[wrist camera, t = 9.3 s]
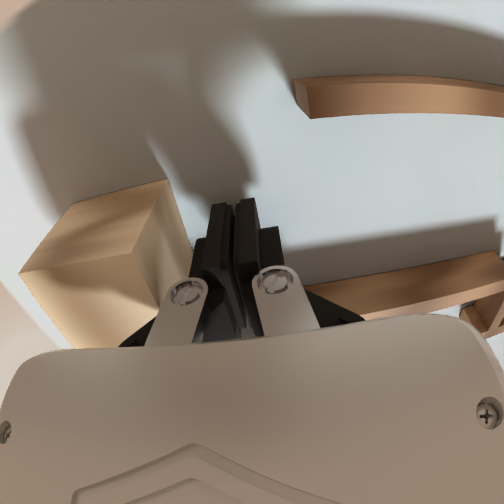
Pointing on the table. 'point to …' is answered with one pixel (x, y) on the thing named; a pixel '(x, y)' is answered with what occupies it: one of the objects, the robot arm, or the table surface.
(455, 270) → the channel
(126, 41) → the table surface
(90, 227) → the block
